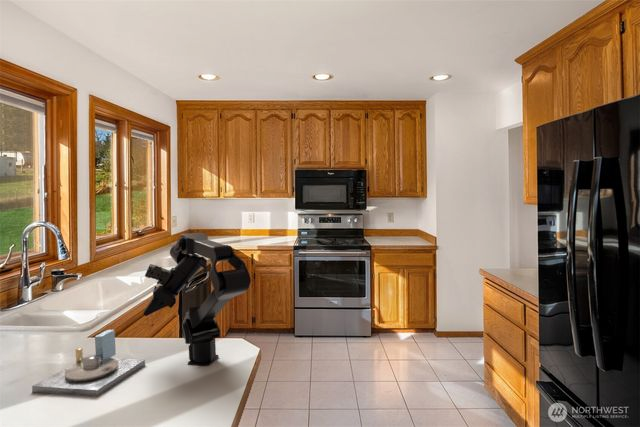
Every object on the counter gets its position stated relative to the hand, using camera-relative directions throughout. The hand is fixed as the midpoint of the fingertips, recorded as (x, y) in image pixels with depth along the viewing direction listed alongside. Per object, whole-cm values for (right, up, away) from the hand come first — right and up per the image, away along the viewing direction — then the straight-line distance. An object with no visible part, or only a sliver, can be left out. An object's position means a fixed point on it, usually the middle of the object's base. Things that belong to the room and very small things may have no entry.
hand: (144, 314), depth 113 cm
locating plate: (-10, -14, -9) cm, 19 cm away
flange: (-9, -12, -8) cm, 18 cm away
